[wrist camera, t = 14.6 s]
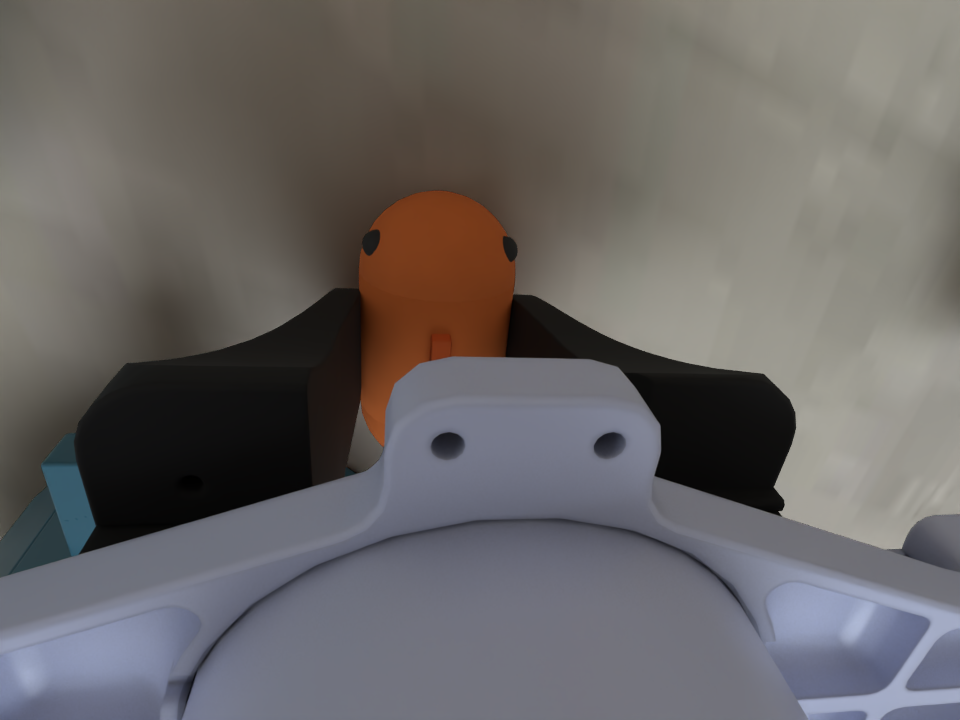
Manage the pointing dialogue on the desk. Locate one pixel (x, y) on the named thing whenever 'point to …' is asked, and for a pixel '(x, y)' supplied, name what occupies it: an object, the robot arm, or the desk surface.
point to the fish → (430, 291)
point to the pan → (53, 516)
